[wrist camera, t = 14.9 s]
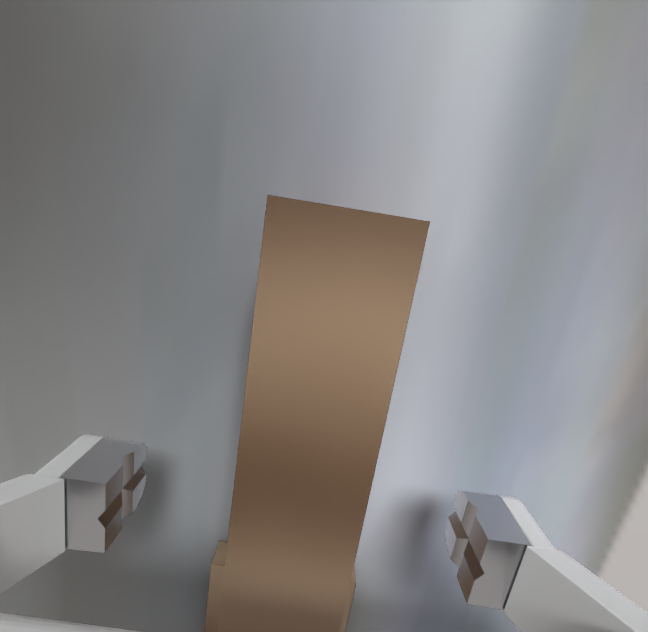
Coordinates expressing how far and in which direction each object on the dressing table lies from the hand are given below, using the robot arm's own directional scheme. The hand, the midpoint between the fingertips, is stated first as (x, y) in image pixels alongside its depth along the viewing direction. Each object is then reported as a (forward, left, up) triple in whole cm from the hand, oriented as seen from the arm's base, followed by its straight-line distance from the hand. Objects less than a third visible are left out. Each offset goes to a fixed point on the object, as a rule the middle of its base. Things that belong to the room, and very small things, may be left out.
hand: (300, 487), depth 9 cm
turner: (+2, 0, -3) cm, 3 cm away
